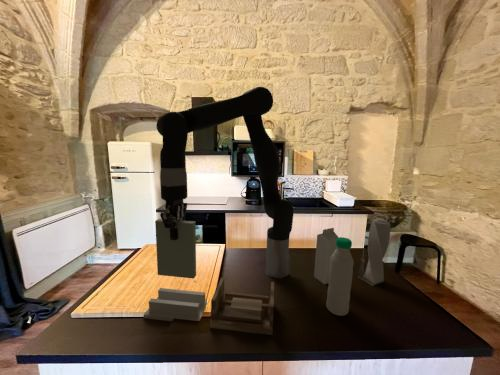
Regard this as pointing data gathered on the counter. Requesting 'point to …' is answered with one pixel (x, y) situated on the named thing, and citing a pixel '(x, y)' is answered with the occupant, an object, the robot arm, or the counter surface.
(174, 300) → the grey stand
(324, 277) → the milk
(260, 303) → the pine offcut
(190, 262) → the sage panel
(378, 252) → the skyscraper
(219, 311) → the oak rack
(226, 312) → the walnut offcut
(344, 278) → the water bottle
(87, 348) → the counter surface
